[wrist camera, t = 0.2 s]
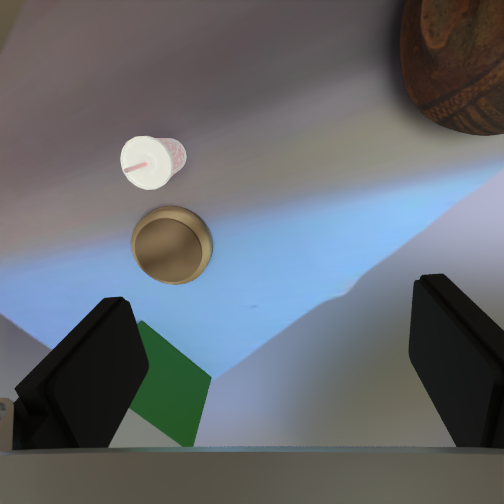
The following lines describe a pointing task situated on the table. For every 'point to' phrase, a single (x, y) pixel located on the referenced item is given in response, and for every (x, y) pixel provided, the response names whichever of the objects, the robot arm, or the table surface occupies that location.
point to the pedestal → (172, 245)
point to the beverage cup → (152, 160)
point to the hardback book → (164, 398)
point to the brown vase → (455, 62)
